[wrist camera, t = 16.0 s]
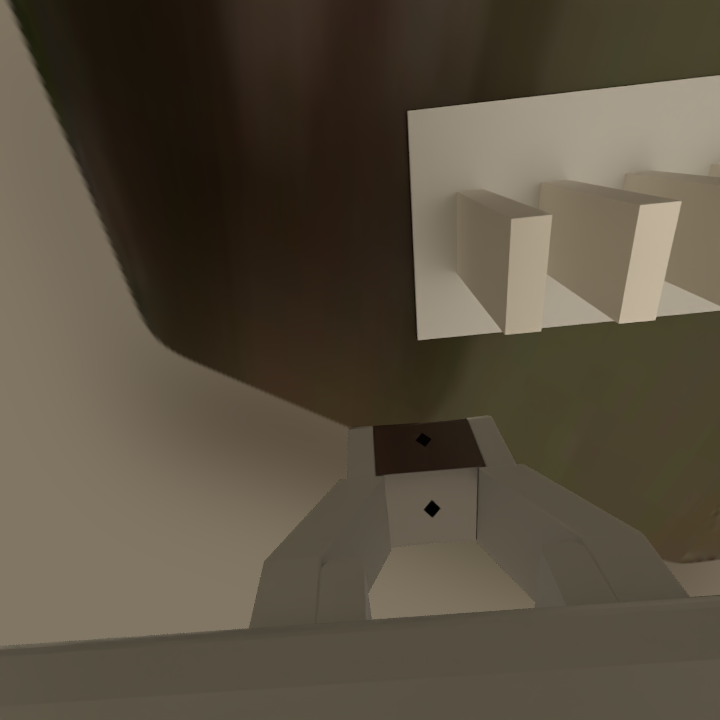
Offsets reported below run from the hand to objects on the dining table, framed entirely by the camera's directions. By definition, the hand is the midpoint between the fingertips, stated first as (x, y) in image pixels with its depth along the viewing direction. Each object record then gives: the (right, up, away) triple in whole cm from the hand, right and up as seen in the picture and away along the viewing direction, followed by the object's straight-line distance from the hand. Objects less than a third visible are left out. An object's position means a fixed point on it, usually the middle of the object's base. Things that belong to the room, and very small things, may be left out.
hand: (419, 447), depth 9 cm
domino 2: (+11, +10, +18) cm, 23 cm away
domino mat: (+17, +11, +18) cm, 27 cm away
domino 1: (+6, +10, +18) cm, 21 cm away
